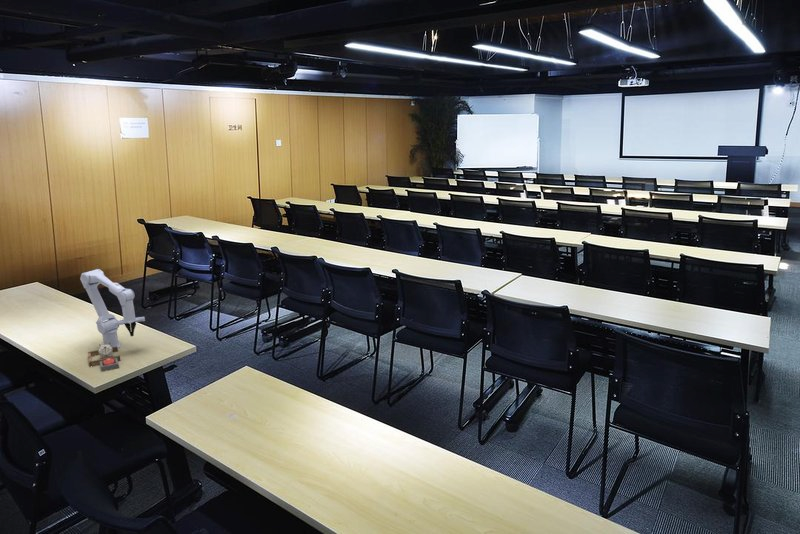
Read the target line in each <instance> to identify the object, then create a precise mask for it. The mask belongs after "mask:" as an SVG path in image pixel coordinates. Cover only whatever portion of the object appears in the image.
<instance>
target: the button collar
mask: <svg viewBox="0 0 800 534" xmlns="http://www.w3.org/2000/svg"><path fill="white" fill-rule="evenodd" d="M113 359H114V361H115V363H114V364H110V365H105V366H104V363H103V361H100V365H99V367H100V370H101V371H102V372H107V371H111V369H112V370H115V369H119V368H120V365H119V361H118V360H117V358H113ZM106 370H107V371H106ZM101 371H100V372H101Z"/></svg>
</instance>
